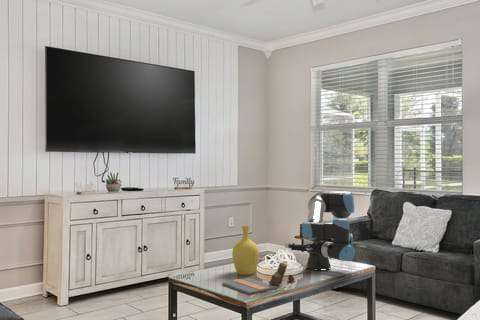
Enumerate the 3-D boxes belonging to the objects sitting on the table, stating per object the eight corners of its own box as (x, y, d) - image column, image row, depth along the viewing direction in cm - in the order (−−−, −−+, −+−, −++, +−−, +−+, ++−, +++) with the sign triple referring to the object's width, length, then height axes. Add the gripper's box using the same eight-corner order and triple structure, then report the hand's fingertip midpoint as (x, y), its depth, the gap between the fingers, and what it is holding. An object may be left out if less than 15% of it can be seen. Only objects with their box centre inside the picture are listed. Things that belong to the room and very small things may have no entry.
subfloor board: (248, 279, 256) (248, 277, 256) (276, 288, 237) (276, 286, 237) (222, 284, 246) (222, 282, 246) (249, 294, 226) (249, 291, 226)
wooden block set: (275, 291, 241) (281, 275, 238) (262, 283, 246) (268, 266, 243) (293, 283, 254) (299, 268, 252) (281, 275, 259) (287, 259, 257)
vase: (227, 274, 270) (227, 227, 270) (240, 268, 284) (240, 223, 284) (251, 277, 262) (251, 228, 263) (263, 271, 276) (263, 225, 277)
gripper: (307, 260, 215) (277, 253, 231) (342, 254, 230) (311, 248, 247) (307, 244, 215) (277, 238, 232) (342, 239, 230) (311, 234, 247)
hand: (295, 243), depth 239 cm, fingers open, 13 cm apart
